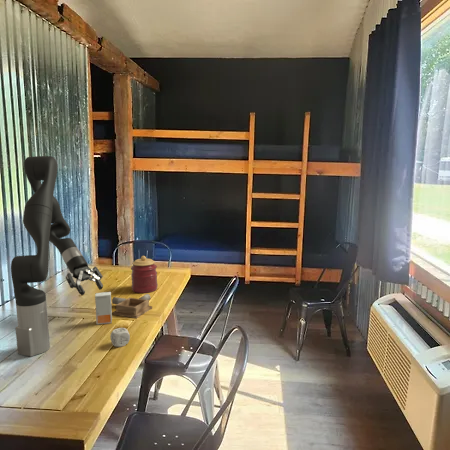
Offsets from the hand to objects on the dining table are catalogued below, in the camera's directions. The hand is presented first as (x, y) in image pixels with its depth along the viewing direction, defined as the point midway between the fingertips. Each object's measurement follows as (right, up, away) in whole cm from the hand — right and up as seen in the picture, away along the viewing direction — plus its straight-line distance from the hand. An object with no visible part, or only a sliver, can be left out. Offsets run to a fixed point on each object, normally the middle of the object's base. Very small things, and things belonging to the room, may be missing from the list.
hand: (92, 291), depth 161 cm
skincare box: (+6, -12, -2) cm, 14 cm away
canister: (+13, -6, +39) cm, 42 cm away
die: (+17, -15, -21) cm, 31 cm away
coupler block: (+13, -10, +13) cm, 21 cm away
